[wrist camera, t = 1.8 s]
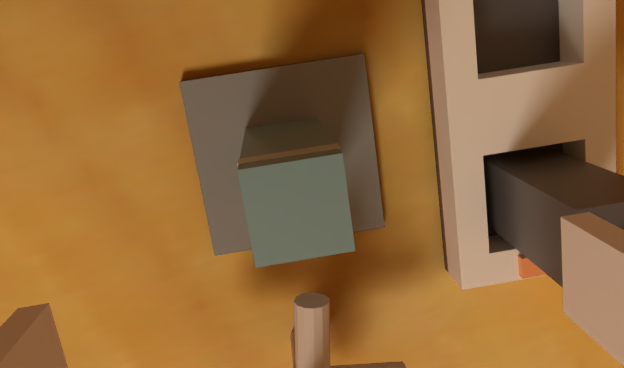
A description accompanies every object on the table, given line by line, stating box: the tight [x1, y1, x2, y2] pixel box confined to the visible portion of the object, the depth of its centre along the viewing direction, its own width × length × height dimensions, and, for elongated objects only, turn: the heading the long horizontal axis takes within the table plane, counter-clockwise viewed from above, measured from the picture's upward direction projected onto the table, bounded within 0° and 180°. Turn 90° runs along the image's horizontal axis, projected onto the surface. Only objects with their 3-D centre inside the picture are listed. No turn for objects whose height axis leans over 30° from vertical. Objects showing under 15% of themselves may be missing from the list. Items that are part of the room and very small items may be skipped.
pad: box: [179, 54, 385, 256], centre depth 31 cm, size 10×10×1 cm
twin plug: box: [483, 148, 624, 287], centre depth 26 cm, size 4×4×13 cm
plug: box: [237, 117, 355, 268], centre depth 26 cm, size 4×4×10 cm
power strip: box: [421, 0, 616, 290], centre depth 30 cm, size 19×9×4 cm, turn 8°
